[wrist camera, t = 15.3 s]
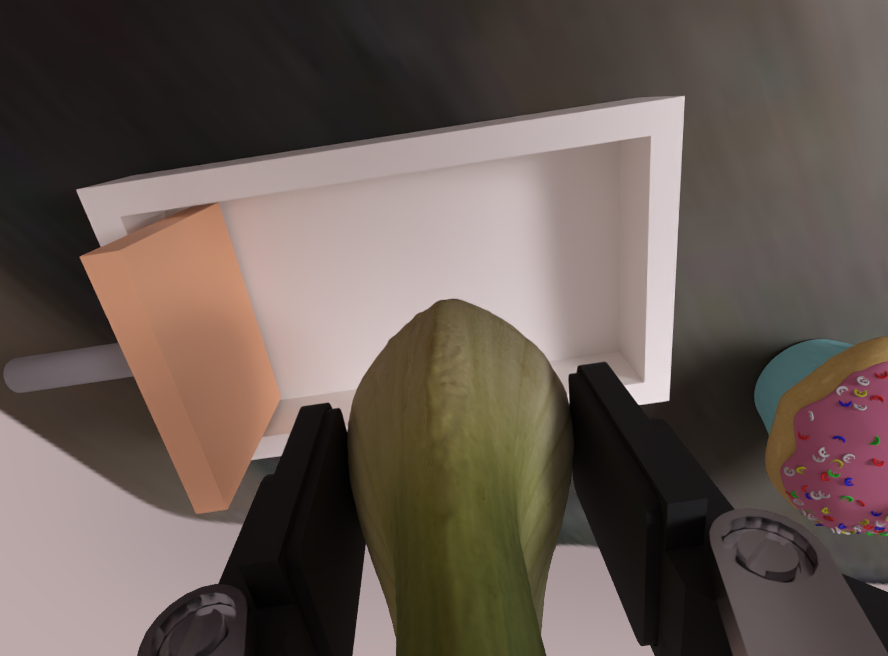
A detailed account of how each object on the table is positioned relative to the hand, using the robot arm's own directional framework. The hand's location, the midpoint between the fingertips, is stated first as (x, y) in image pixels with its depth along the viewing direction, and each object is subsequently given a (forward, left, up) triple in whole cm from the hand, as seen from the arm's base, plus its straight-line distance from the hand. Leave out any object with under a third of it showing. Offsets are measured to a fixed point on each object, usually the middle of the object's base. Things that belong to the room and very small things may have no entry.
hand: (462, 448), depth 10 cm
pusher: (+11, 0, -10) cm, 15 cm away
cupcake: (-16, +8, -12) cm, 21 cm away
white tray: (+1, 0, -12) cm, 12 cm away
